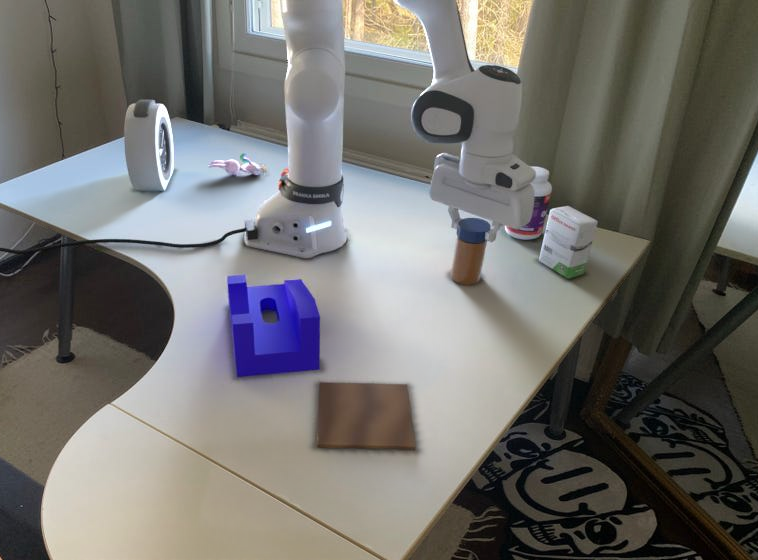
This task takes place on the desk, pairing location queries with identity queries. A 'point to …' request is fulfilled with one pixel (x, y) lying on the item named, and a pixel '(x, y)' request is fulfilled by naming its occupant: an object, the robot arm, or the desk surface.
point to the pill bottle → (535, 207)
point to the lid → (472, 230)
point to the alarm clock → (148, 146)
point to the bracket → (273, 327)
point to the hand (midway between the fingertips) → (473, 234)
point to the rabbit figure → (238, 166)
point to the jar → (468, 261)
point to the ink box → (567, 241)
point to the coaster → (364, 416)
